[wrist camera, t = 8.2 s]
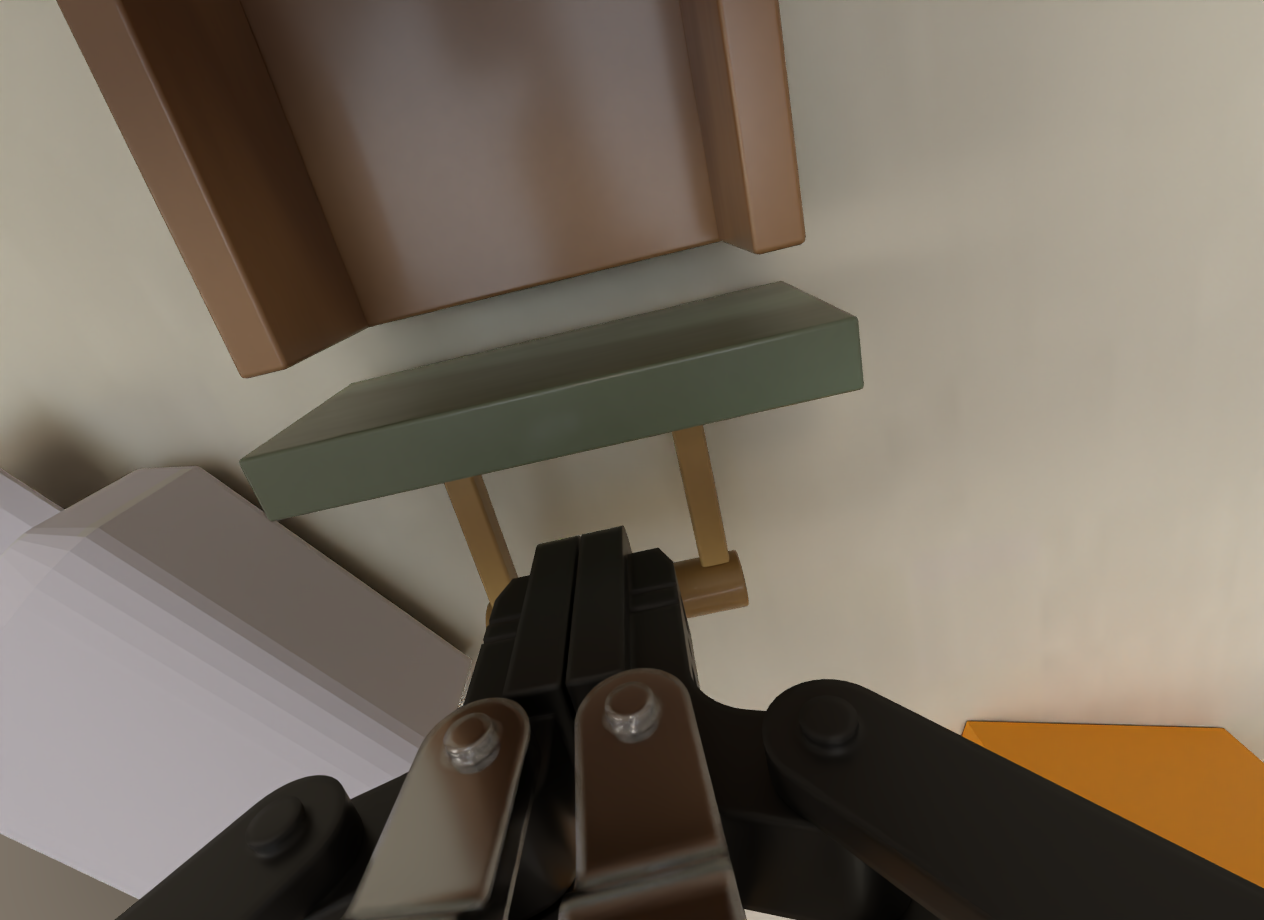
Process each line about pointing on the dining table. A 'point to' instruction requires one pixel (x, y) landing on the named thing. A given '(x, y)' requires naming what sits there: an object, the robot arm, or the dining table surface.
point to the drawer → (477, 226)
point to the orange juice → (1152, 780)
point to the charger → (189, 672)
